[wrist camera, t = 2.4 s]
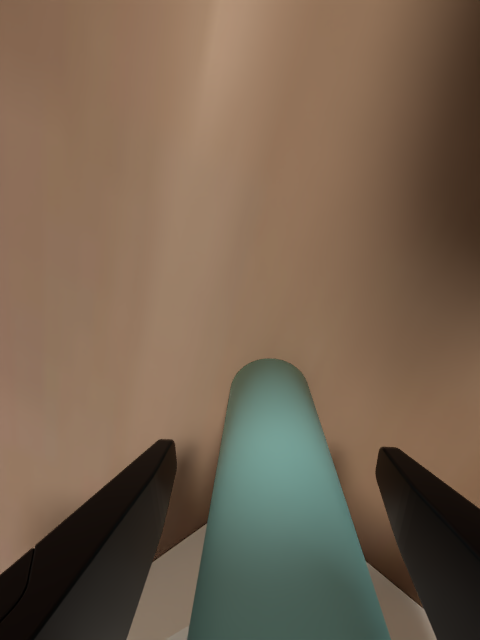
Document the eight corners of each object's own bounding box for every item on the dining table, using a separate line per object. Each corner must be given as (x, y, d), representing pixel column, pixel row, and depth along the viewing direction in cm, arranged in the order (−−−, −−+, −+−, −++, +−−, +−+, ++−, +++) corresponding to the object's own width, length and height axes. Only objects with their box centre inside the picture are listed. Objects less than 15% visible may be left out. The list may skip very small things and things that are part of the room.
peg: (325, 395, 10) (643, 1164, 2) (268, 439, 11) (303, 1122, 3) (270, 343, 10) (353, 1074, 1) (214, 392, 11) (36, 1051, 2)
